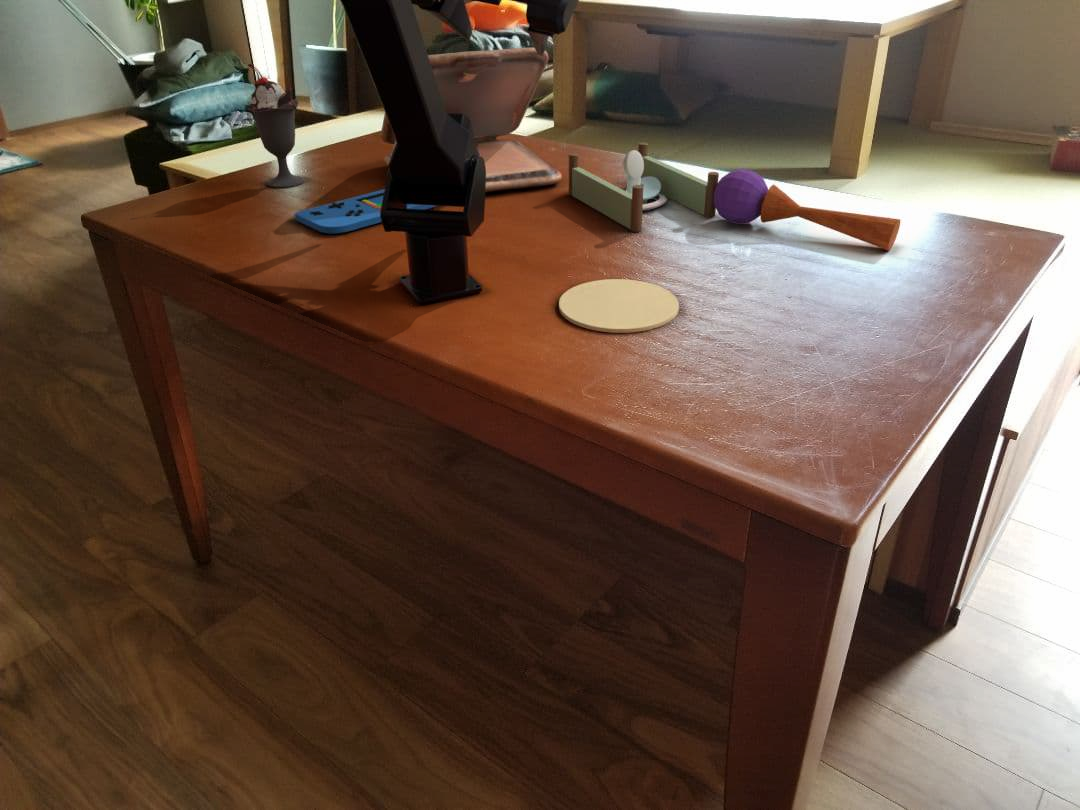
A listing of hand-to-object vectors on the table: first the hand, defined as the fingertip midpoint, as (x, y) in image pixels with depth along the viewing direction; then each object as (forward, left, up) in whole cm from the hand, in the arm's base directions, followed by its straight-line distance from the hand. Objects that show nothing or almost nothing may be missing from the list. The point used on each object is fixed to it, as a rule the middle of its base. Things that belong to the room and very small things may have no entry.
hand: (505, 44), depth 99 cm
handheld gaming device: (+2, +18, -18) cm, 25 cm away
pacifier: (-11, -12, -18) cm, 24 cm away
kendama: (-28, -22, -18) cm, 40 cm away
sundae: (+20, +24, -18) cm, 36 cm away
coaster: (-35, +5, -18) cm, 39 cm away
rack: (-11, -12, -18) cm, 24 cm away
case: (+11, +1, -18) cm, 21 cm away
